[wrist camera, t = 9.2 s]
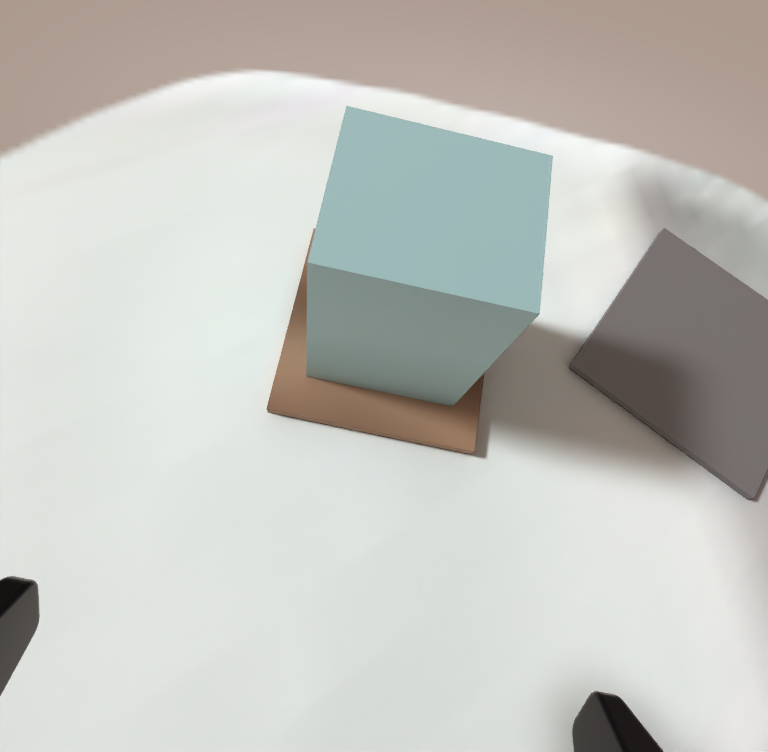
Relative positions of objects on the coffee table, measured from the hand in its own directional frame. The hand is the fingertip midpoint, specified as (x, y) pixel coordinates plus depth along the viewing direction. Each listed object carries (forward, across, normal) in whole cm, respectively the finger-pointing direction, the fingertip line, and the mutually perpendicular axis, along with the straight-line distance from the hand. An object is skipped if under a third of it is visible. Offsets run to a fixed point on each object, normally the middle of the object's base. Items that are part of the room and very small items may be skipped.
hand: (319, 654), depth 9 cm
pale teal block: (+17, -1, +1) cm, 17 cm away
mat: (+20, -16, -1) cm, 26 cm away
